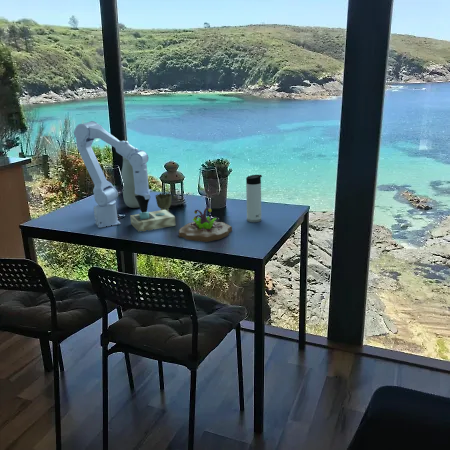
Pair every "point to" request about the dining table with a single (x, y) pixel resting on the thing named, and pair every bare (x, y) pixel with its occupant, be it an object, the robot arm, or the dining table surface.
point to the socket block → (153, 220)
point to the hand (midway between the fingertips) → (144, 211)
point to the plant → (204, 228)
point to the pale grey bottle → (129, 185)
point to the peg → (144, 215)
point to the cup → (163, 201)
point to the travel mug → (253, 198)
